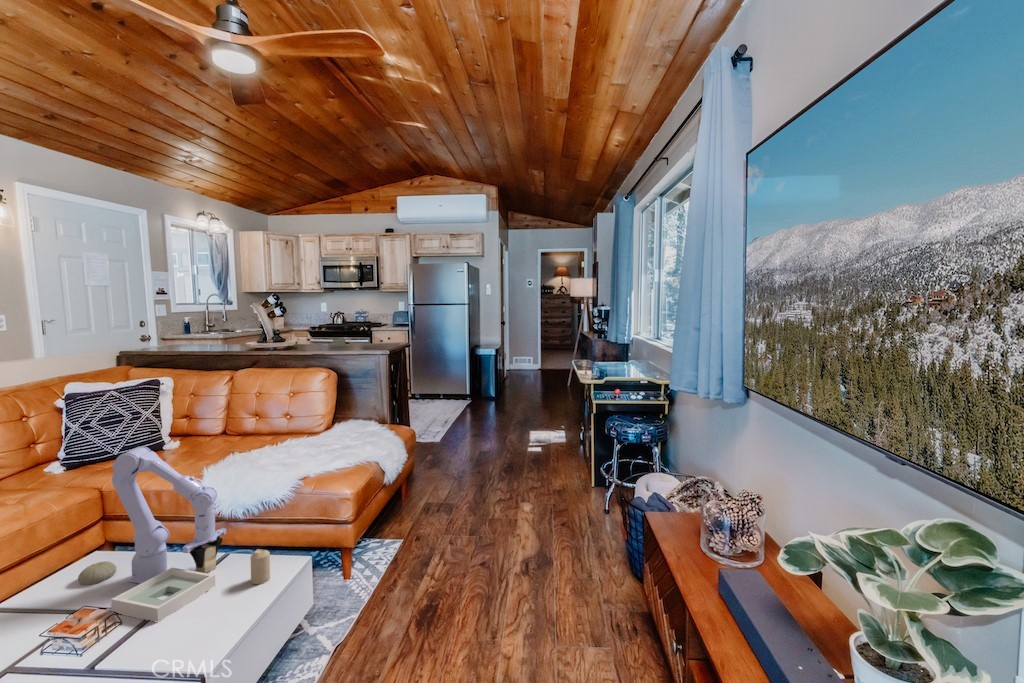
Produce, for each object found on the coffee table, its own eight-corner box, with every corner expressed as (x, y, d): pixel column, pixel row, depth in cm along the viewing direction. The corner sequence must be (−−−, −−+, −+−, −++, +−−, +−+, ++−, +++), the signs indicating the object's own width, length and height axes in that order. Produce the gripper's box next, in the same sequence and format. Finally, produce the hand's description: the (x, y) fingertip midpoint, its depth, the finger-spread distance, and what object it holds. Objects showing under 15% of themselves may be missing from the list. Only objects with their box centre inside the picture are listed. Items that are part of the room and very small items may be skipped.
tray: (111, 612, 130) (111, 599, 130) (172, 579, 147) (172, 567, 147) (157, 622, 125) (157, 608, 125) (215, 587, 143) (215, 574, 143)
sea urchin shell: (123, 569, 150) (101, 560, 145) (102, 593, 146) (78, 585, 141) (114, 561, 155) (92, 553, 150) (93, 585, 151) (69, 576, 146)
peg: (196, 572, 151) (195, 549, 151) (206, 566, 155) (206, 544, 155) (205, 574, 150) (204, 551, 150) (215, 568, 154) (215, 545, 154)
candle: (273, 575, 149) (273, 546, 149) (263, 585, 144) (262, 554, 143) (258, 575, 150) (257, 545, 149) (247, 584, 144) (246, 554, 144)
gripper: (194, 535, 144) (195, 576, 145) (232, 517, 158) (233, 554, 159) (177, 533, 146) (178, 573, 146) (217, 515, 160) (217, 552, 160)
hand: (205, 563), depth 153 cm, fingers closed on peg, 4 cm apart
